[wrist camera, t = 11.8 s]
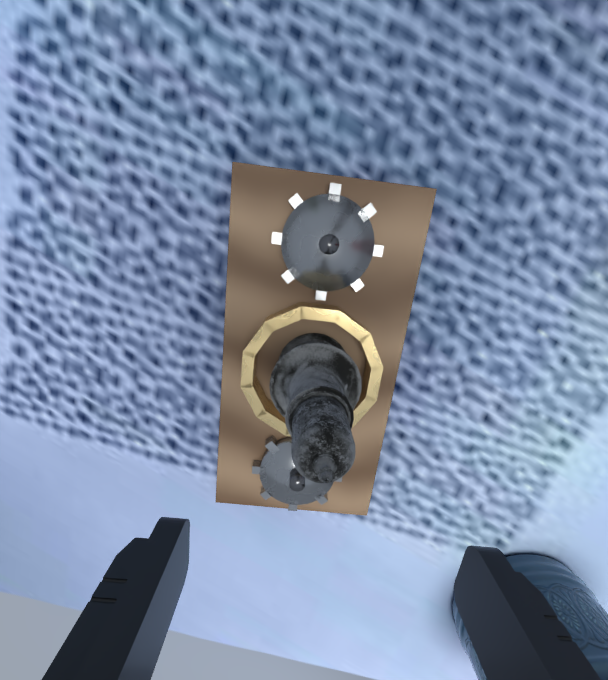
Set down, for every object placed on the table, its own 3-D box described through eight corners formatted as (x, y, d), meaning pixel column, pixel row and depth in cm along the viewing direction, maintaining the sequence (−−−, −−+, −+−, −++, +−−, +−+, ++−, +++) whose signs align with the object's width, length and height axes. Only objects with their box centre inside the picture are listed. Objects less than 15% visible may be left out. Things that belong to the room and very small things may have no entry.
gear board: (236, 166, 21) (232, 161, 20) (429, 192, 21) (436, 188, 20) (219, 491, 28) (215, 502, 27) (364, 504, 28) (366, 515, 27)
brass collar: (250, 295, 22) (246, 300, 20) (386, 311, 22) (393, 317, 21) (241, 418, 25) (237, 431, 23) (363, 430, 25) (368, 444, 23)
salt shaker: (264, 390, 24) (231, 523, 12) (286, 318, 22) (273, 392, 11) (337, 411, 24) (371, 556, 13) (364, 342, 23) (430, 437, 11)
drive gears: (277, 178, 20) (275, 171, 18) (390, 193, 20) (399, 187, 18) (250, 499, 27) (246, 518, 25) (334, 506, 27) (337, 526, 25)
